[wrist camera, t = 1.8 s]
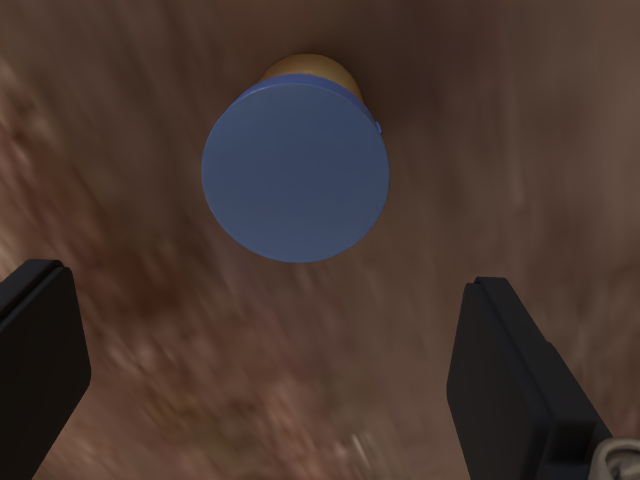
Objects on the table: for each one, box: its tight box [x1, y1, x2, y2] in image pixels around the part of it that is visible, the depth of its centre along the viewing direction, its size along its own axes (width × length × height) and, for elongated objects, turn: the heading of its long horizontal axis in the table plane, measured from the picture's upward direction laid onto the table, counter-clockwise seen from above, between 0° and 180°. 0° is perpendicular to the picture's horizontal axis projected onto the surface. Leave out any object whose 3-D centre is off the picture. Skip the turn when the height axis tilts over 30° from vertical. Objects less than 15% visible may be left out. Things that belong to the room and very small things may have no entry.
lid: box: [201, 74, 390, 263], centre depth 19 cm, size 7×7×2 cm
